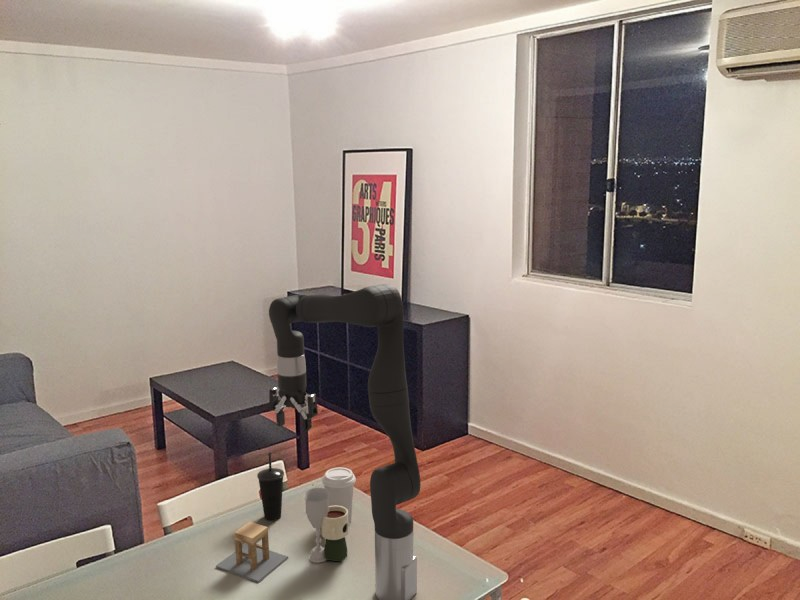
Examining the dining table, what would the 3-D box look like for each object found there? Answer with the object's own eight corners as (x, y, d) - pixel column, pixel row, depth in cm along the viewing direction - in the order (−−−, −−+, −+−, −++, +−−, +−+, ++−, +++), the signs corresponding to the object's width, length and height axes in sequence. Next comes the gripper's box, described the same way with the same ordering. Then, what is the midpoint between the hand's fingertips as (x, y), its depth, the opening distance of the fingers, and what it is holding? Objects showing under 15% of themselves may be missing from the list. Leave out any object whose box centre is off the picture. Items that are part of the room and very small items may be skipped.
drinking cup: (256, 513, 204) (253, 450, 200) (281, 508, 207) (279, 446, 203) (263, 525, 197) (259, 461, 193) (289, 520, 201) (286, 456, 196)
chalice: (327, 566, 178) (325, 502, 174) (302, 563, 179) (299, 500, 175) (334, 550, 185) (333, 488, 181) (310, 548, 186) (308, 486, 182)
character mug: (347, 568, 177) (346, 522, 174) (320, 569, 177) (318, 523, 174) (350, 545, 187) (349, 501, 185) (324, 545, 187) (323, 501, 185)
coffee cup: (318, 527, 197) (316, 478, 193) (331, 510, 205) (329, 464, 202) (349, 532, 194) (348, 483, 191) (361, 515, 203) (360, 468, 200)
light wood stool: (269, 558, 181) (267, 527, 179) (254, 570, 176) (252, 538, 174) (251, 552, 184) (249, 521, 182) (236, 563, 178) (234, 532, 176)
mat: (288, 558, 182) (288, 556, 182) (258, 582, 171) (258, 580, 171) (246, 544, 188) (246, 542, 188) (216, 567, 178) (215, 565, 178)
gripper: (322, 370, 182) (323, 428, 185) (278, 363, 189) (281, 418, 192) (305, 378, 175) (307, 438, 179) (261, 370, 182) (264, 428, 185)
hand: (294, 428), depth 185 cm, fingers open, 8 cm apart
